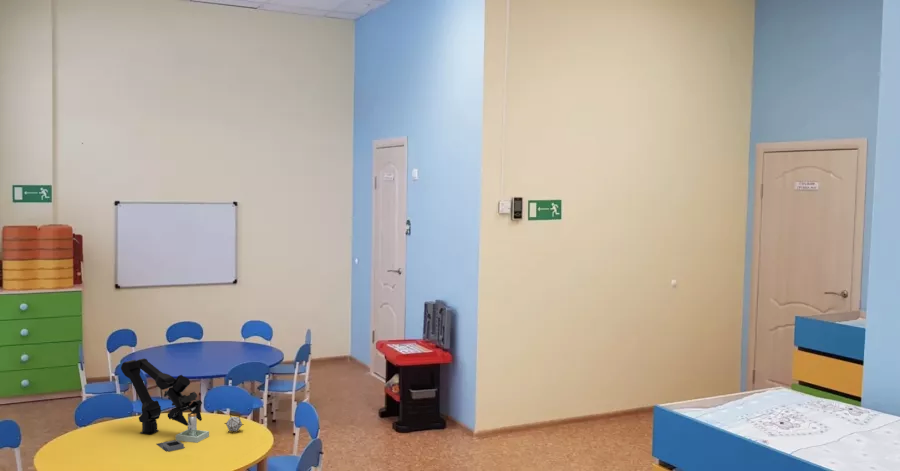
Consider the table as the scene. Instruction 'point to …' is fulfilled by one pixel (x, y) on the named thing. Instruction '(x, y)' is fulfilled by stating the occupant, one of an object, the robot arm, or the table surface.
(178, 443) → the grey slab
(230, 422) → the game die
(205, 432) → the tray
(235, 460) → the table surface
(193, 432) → the pin
